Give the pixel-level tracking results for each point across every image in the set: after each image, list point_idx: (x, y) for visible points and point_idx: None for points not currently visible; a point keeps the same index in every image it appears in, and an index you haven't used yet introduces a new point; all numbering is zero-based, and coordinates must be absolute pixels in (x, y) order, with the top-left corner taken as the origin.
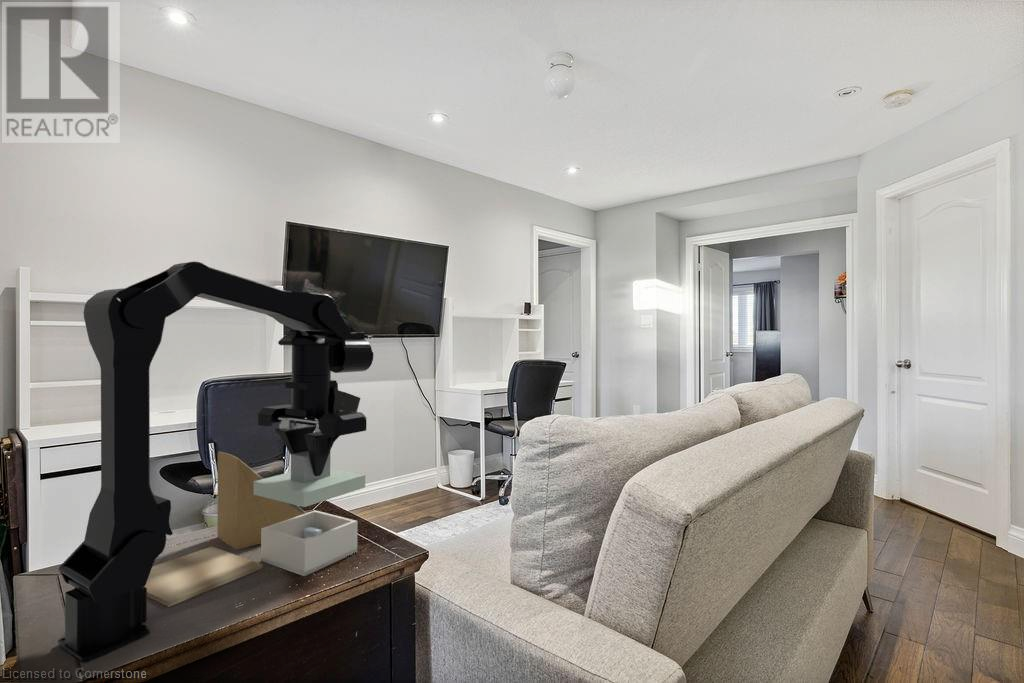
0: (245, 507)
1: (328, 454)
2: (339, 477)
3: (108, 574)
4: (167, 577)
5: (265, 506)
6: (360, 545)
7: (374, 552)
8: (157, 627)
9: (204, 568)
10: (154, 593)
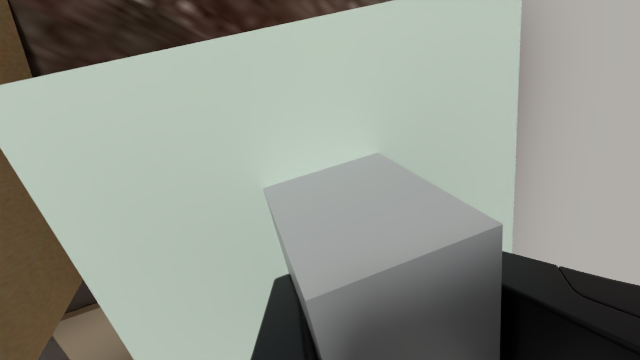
0: (32, 340)
1: (554, 268)
2: (446, 128)
3: None
4: None
5: (7, 262)
6: (295, 3)
7: (365, 6)
8: None
9: None
10: None
